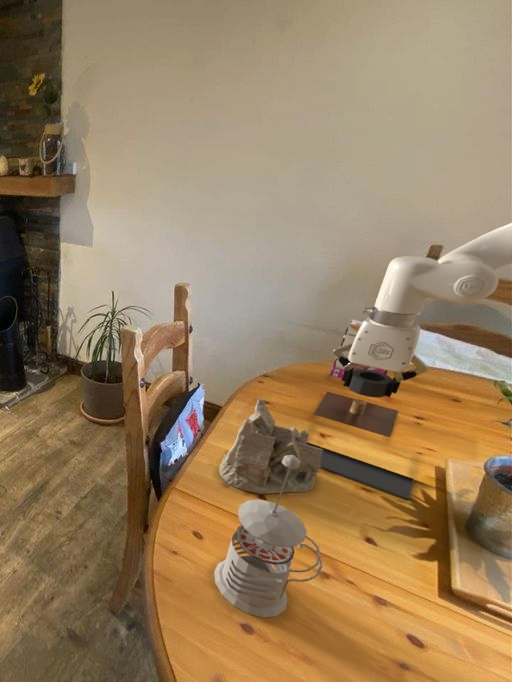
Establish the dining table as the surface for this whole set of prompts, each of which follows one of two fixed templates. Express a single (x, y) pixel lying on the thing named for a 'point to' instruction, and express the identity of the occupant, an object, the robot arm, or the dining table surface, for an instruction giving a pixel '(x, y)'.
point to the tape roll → (369, 383)
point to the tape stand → (357, 413)
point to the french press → (263, 555)
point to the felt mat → (366, 473)
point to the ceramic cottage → (269, 456)
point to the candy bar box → (347, 339)
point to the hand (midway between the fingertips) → (367, 388)
